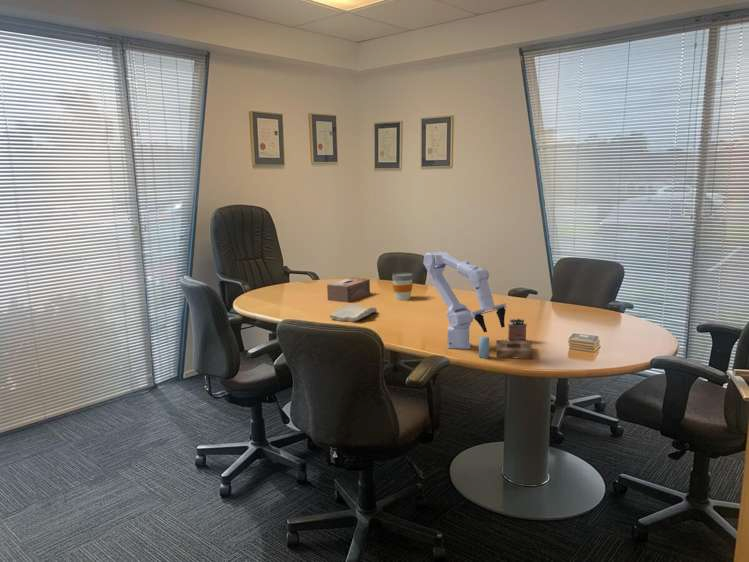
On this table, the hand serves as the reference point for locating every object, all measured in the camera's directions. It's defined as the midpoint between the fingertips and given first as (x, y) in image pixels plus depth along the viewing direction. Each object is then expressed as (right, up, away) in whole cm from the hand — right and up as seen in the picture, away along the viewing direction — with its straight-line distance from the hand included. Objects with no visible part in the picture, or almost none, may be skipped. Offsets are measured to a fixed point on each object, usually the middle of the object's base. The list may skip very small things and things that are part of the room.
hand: (494, 329), depth 217 cm
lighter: (+15, -7, +22) cm, 27 cm away
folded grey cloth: (-58, 0, +72) cm, 92 cm away
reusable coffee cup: (-31, +9, +111) cm, 116 cm away
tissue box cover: (-64, +9, +119) cm, 136 cm away
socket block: (+9, -10, +6) cm, 15 cm away
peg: (-4, -11, +2) cm, 12 cm away
